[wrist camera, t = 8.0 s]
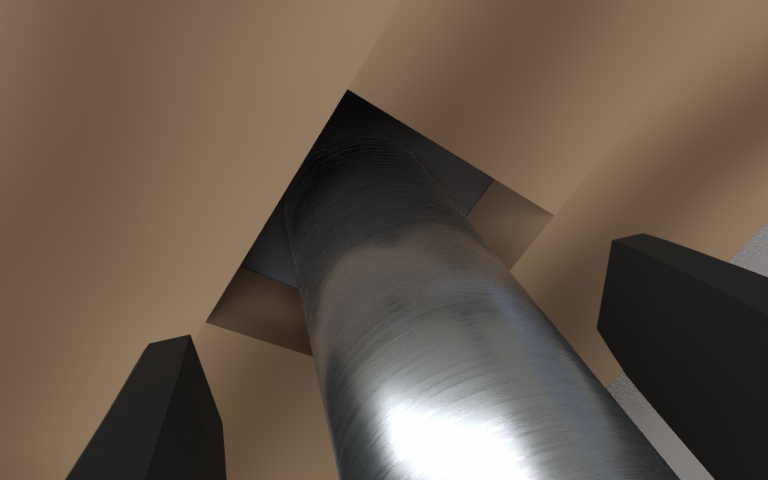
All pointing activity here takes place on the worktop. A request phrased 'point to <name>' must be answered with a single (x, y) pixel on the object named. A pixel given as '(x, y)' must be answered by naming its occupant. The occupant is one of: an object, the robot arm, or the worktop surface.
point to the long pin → (438, 337)
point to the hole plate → (286, 154)
